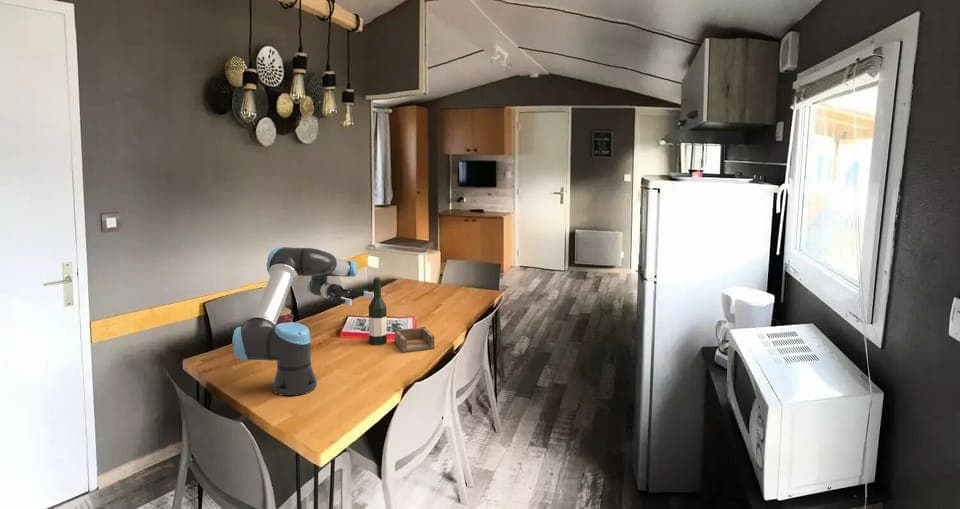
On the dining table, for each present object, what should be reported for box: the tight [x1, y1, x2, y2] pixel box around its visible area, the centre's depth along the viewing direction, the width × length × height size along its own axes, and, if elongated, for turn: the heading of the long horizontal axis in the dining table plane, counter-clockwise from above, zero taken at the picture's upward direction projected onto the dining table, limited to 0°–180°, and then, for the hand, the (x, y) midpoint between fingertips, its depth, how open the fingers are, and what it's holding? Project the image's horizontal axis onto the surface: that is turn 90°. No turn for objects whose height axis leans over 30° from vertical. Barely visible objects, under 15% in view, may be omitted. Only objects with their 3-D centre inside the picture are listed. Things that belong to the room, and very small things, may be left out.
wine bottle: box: [368, 276, 388, 346], centre depth 248 cm, size 8×8×30 cm
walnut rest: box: [394, 326, 435, 354], centre depth 247 cm, size 14×14×6 cm
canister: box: [276, 306, 295, 326], centre depth 247 cm, size 13×13×18 cm
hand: (362, 299), depth 254 cm, fingers open, 13 cm apart
